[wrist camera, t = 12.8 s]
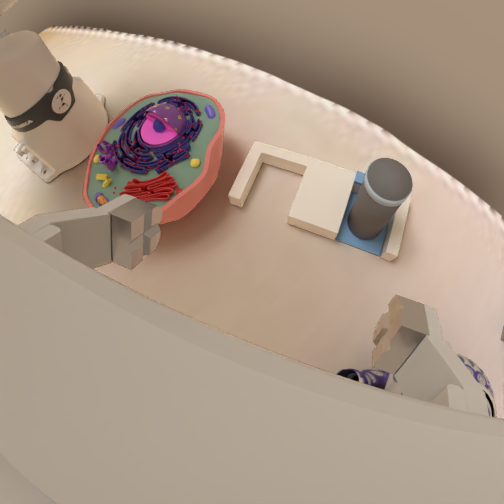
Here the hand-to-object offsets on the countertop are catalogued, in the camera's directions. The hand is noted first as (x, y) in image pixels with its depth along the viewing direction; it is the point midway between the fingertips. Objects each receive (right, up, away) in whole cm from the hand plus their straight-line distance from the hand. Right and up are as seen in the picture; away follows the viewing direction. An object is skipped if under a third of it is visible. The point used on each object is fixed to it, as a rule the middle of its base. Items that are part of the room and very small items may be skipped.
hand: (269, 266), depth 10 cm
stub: (+13, +4, +27) cm, 30 cm away
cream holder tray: (+8, +6, +28) cm, 30 cm away
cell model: (-12, +10, +32) cm, 35 cm away
